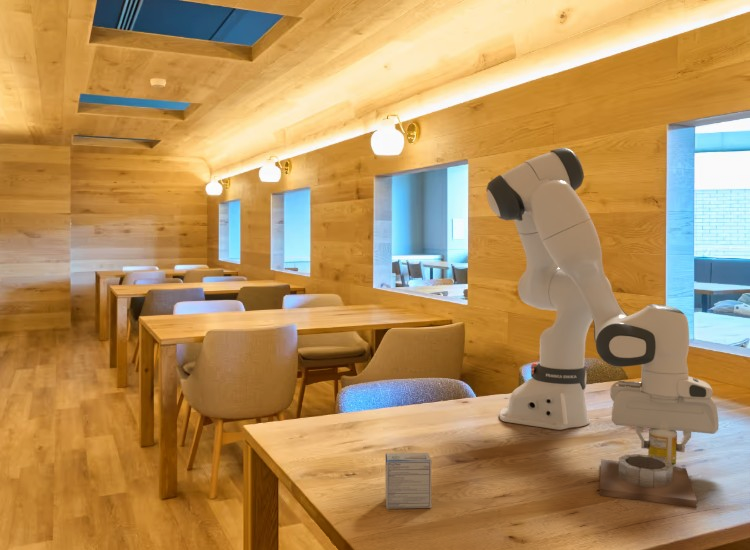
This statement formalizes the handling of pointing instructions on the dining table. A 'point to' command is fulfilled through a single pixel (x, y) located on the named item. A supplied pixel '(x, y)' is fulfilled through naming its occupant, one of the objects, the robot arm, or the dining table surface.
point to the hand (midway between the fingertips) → (662, 449)
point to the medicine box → (408, 480)
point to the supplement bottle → (663, 443)
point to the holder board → (646, 480)
